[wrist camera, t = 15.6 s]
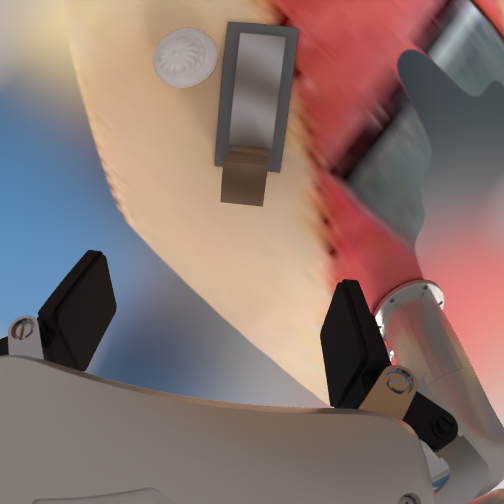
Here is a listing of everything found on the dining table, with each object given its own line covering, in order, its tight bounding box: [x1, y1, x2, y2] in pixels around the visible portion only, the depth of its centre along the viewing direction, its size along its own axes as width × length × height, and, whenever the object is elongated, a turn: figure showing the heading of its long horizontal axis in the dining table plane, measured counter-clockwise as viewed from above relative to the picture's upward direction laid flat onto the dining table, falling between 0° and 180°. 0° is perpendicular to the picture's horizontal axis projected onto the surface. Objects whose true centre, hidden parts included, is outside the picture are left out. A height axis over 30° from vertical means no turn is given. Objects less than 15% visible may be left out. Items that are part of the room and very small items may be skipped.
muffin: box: [153, 28, 218, 88], centre depth 22 cm, size 6×6×7 cm
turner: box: [221, 33, 286, 207], centre depth 23 cm, size 16×4×8 cm, turn 174°
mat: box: [215, 22, 299, 173], centre depth 26 cm, size 16×7×1 cm, turn 174°
